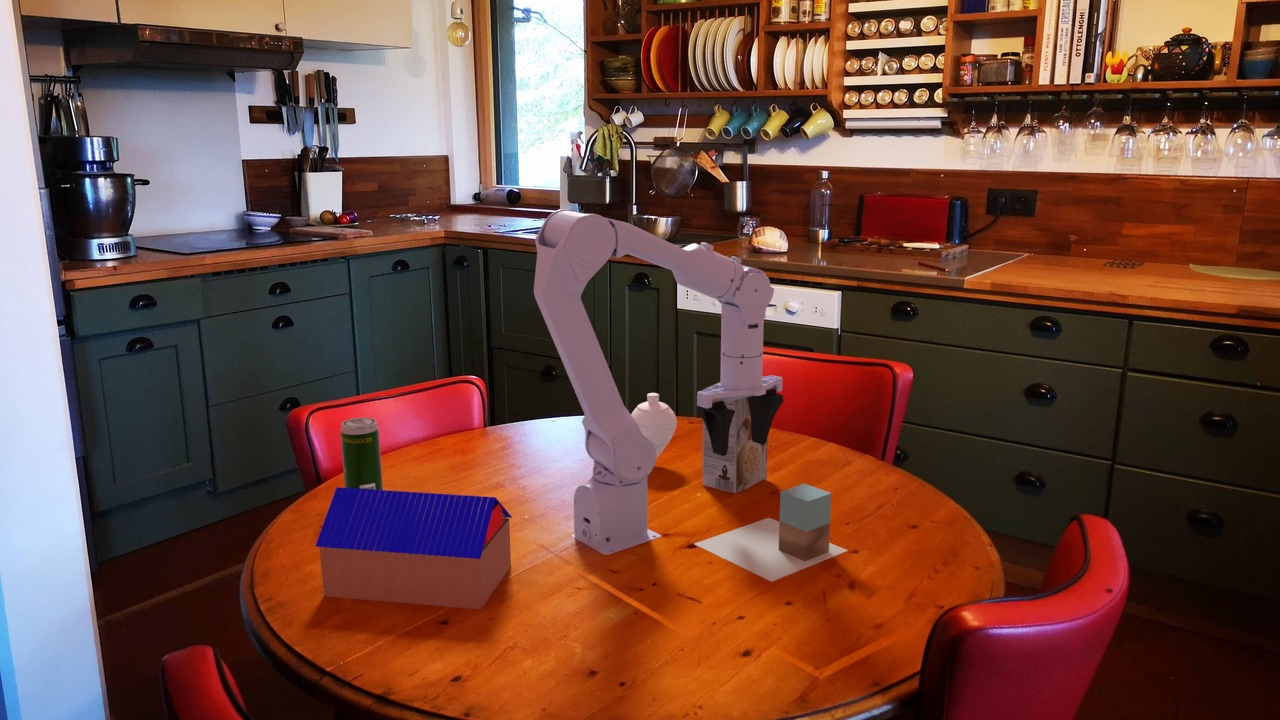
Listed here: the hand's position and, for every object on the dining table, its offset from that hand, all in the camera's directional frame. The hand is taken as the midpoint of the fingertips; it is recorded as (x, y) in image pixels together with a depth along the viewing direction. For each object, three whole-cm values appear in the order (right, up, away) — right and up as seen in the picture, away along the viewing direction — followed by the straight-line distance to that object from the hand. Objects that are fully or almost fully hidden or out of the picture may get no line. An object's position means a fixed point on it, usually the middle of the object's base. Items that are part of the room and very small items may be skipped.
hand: (739, 448), depth 135 cm
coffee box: (+1, -7, +14) cm, 16 cm away
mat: (+3, -12, -10) cm, 16 cm away
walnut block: (+7, -12, -11) cm, 18 cm away
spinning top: (-12, -5, +23) cm, 26 cm away
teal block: (+7, -8, -12) cm, 16 cm away
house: (-41, -15, -18) cm, 47 cm away
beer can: (-55, -9, +8) cm, 56 cm away
